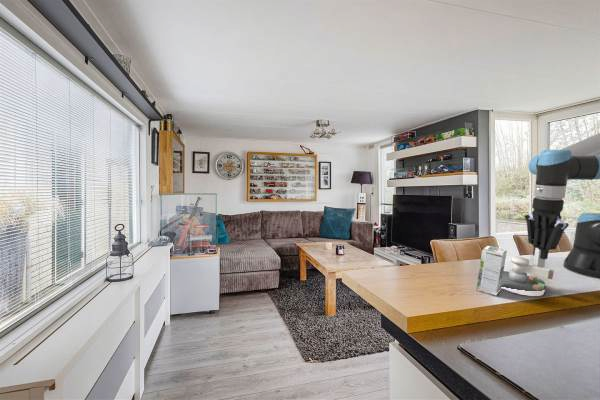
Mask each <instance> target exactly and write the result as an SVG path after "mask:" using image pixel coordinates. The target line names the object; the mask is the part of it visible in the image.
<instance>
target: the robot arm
mask: <svg viewBox="0 0 600 400" xmlns="http://www.w3.org/2000/svg"><path fill="white" fill-rule="evenodd" d="M528 170H529V172H530V173H531V174H533V175H535V176H536V177H535V185H534V193H533V196H534V198H533V199H532V207H531V208H532V209H533V210H532V211H531V213H530V214H525V215H524V219H525V221H526V227H527V228H526V230H527V241H528V244H531V245H532V246H533V251H532V256H533V263H532V266H536V267H540V268H545V266H546V265H545V264H546V260H547V259H549V258H548V257H549V256H548V255H549V251H550V250H551V251H552V250H553V251H554V250H557V247H558V245H559V242H560V241H561V239H562V236H563V234H564V232H565V230H566V229H567V228H568V227H569V226H570V225H569V223H567V222H564V221H562V216H561V212H562V211H563V210H564V202H565V201H564V200H563V199H565V198H566V193H567V192H566V191H567V185H568V181H569V180H574V181H575V180H580V181H582V180H586V181H587V180H588V181H592V180H600V132H598V133H596V134H593V135H591V136H589V137H587V138H584V139H582V140H580V141H577V142H575V143H573V144H571V145H568V146H566V147H563V148H561V149H546V150H545V149H544V150H541V152H540V153H539V155H535V156H534V157H532V158H531V159H530V160H529V161H528ZM563 267H564V268H565V269H567V270H569V271H571V272H573V273H576V274H579V275H583V276H586V277H590V278H595V277H596V278H595V279H600V213H599V212H598V213H597V212H596V213H594V212H586V213H585V212H584V213H581V214H580V215H579V217H578V219H577V222H576V227H575V233H574V240H573V244H572V249H571V251H570V252H569V253H568V255H567V256H566V257H565V259H564V260H563Z"/></svg>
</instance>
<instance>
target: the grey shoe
mask: <svg viewBox="0 0 600 400" xmlns="http://www.w3.org/2000/svg"><path fill="white" fill-rule="evenodd" d="M501 287H506V288H511V289H517V290H525V291H542V290H545V289H546V288H547V287H546V282H545V281H544V280H543V279H541V278H539V276H537V275H528V273H524V274H521V273H516V272H514V271H512V269H510V270H509V271H508V270H507V271H505V270H504V271H503V277H502V283H501ZM546 290H547V289H546ZM546 290H545V291H546Z"/></svg>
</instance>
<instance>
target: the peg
mask: <svg viewBox="0 0 600 400" xmlns="http://www.w3.org/2000/svg"><path fill="white" fill-rule="evenodd" d="M510 262H511V263H512V269H511V270H512V271H514V272H516V273H521V274H524V273H527V274H529V275H532V276H536V277H541V278H545V279H547V280H553V277H554V272H555V270H553V269H549V268H545V267H543V268H540V267H536V266H533V264H530V260H529V259H528V258H525V257H522V256H512V257H511V260H510Z"/></svg>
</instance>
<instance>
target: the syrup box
mask: <svg viewBox="0 0 600 400" xmlns="http://www.w3.org/2000/svg"><path fill="white" fill-rule="evenodd" d="M507 253H508V252H507V249H504V248H501V247H497V246H493V245H487V246H485V247H484V248H483V249H482V251H481V258H480V264H479V268H478V269H479V270H478V275H477V282H476V289H479V290H484V291H489V292H495V293H497V292H498V291H499V290H500V291H501V290H502V289H501V283H502V277H503V271H505V263H506V259H507ZM476 289H475V290H476Z"/></svg>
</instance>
